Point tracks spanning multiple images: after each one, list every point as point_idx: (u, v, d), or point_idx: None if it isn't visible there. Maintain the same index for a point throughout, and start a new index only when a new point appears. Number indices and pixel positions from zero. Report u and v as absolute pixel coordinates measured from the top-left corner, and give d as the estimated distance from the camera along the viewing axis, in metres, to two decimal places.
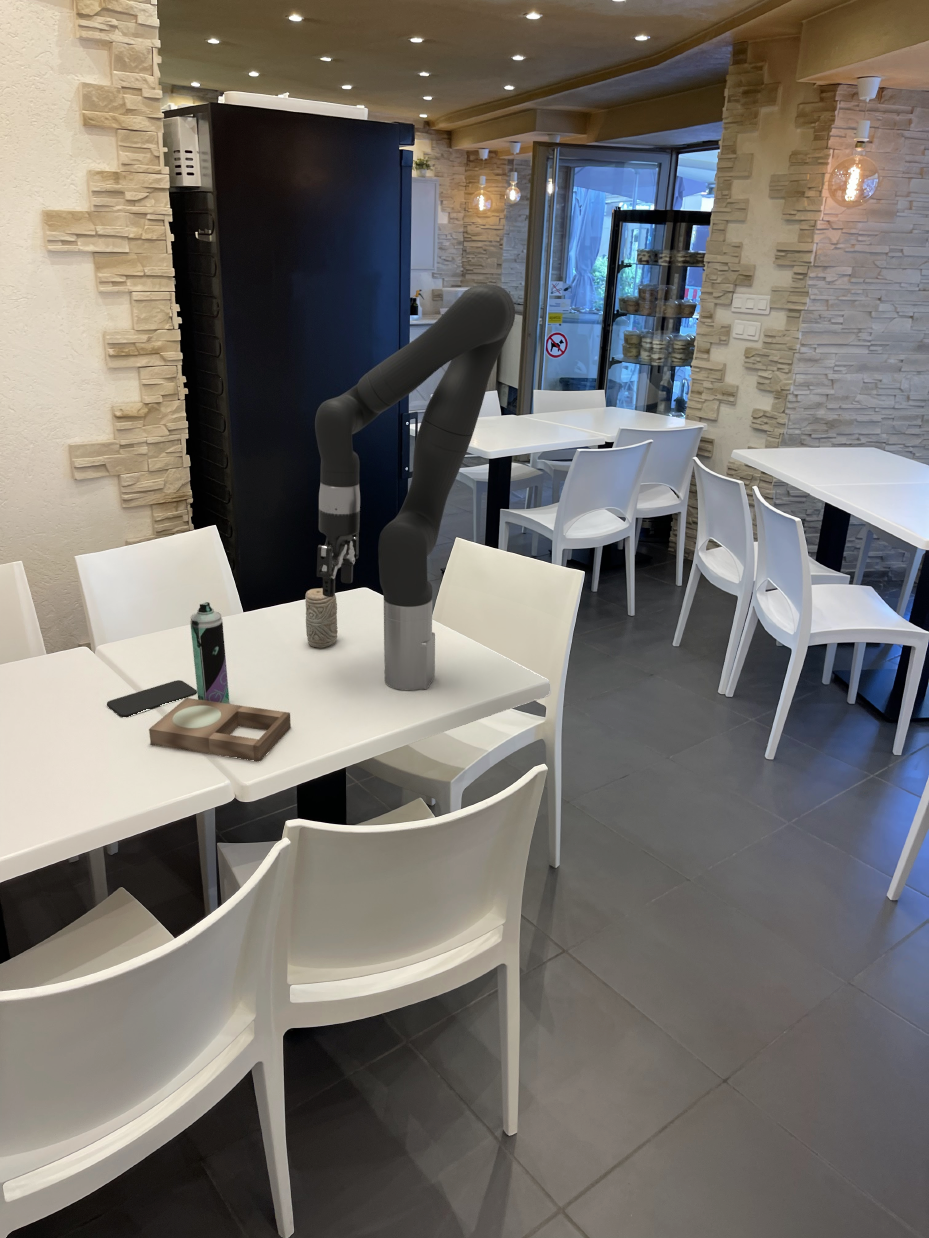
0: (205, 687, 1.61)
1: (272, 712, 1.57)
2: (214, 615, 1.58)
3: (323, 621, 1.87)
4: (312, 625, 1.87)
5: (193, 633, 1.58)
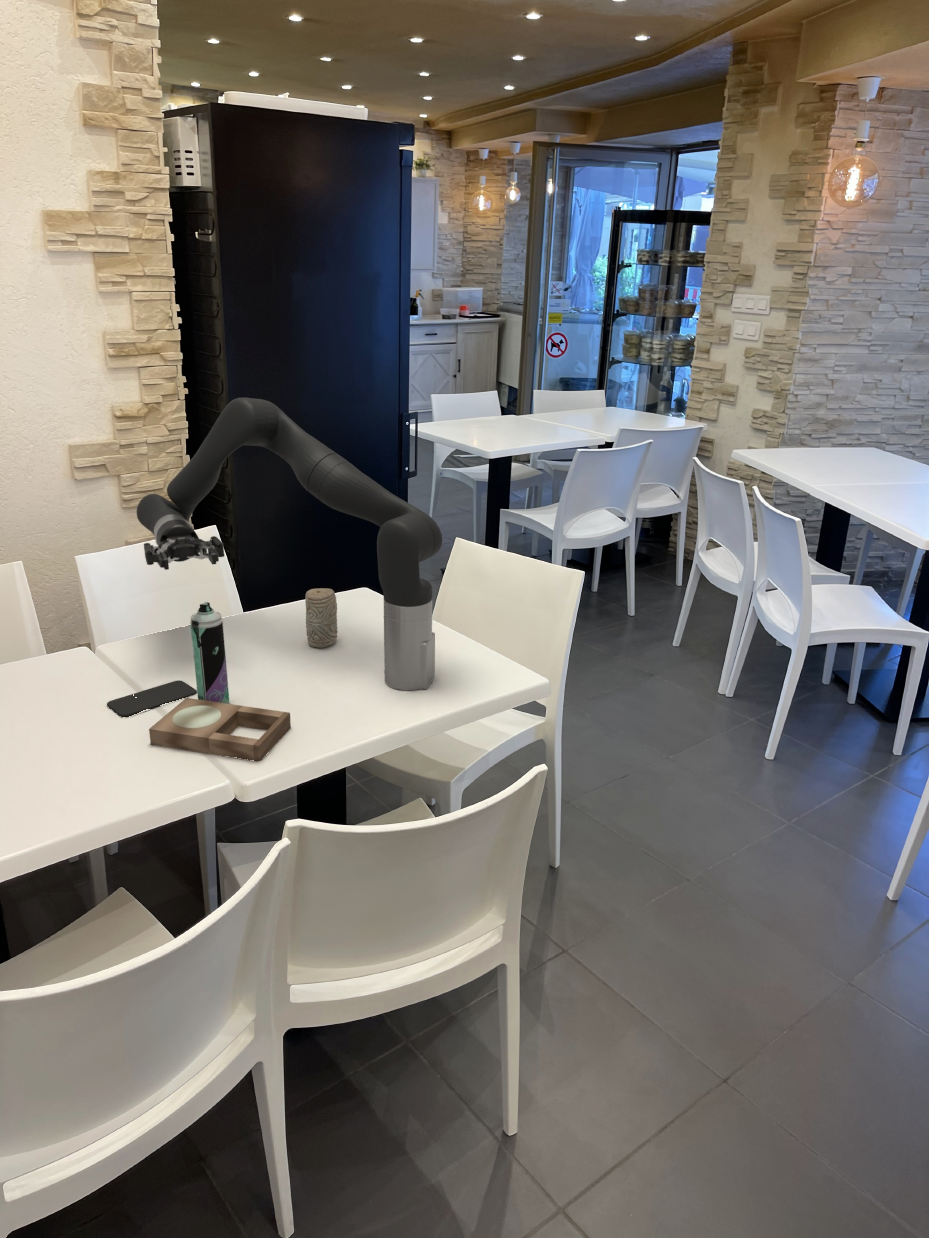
0: (205, 687, 1.61)
1: (272, 712, 1.57)
2: (214, 615, 1.58)
3: (323, 621, 1.87)
4: (312, 625, 1.87)
5: (193, 633, 1.58)
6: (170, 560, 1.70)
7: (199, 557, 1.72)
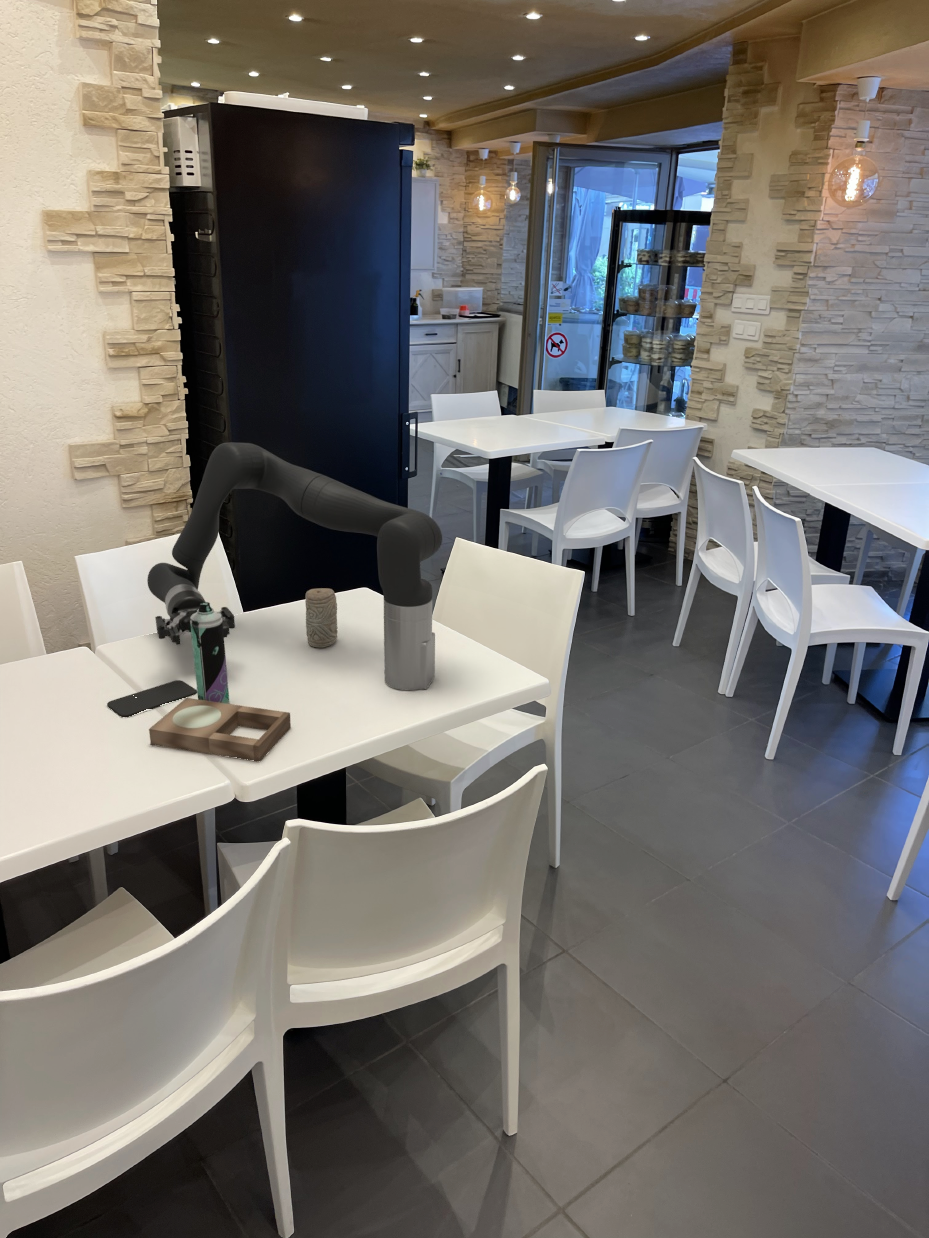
0: (205, 687, 1.61)
1: (272, 712, 1.57)
2: (214, 615, 1.58)
3: (323, 621, 1.87)
4: (312, 625, 1.87)
5: (193, 633, 1.58)
6: (181, 633, 1.71)
7: None
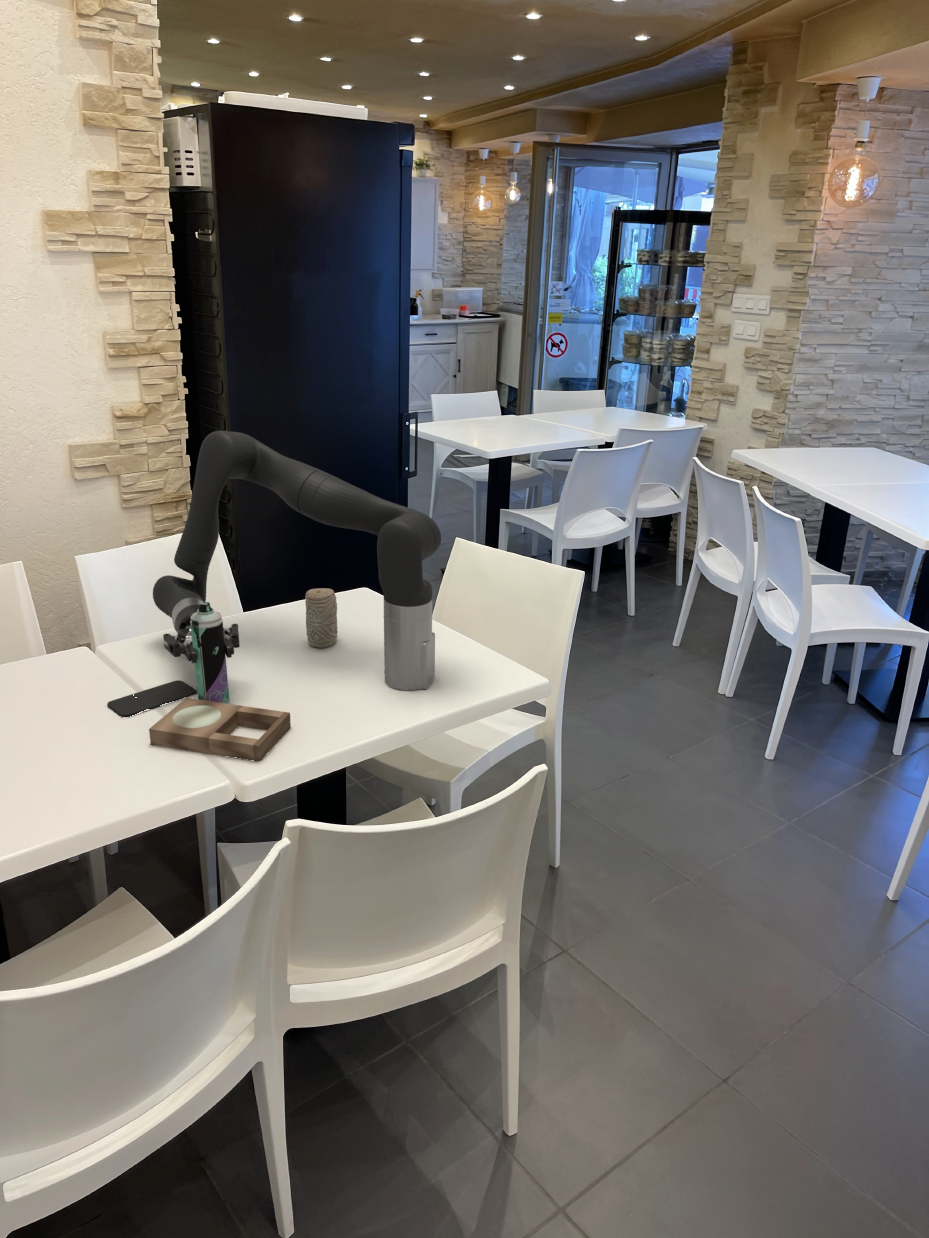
0: (206, 687, 1.61)
1: (272, 712, 1.57)
2: (214, 615, 1.58)
3: (323, 621, 1.87)
4: (312, 625, 1.87)
5: (193, 633, 1.58)
6: None
7: None
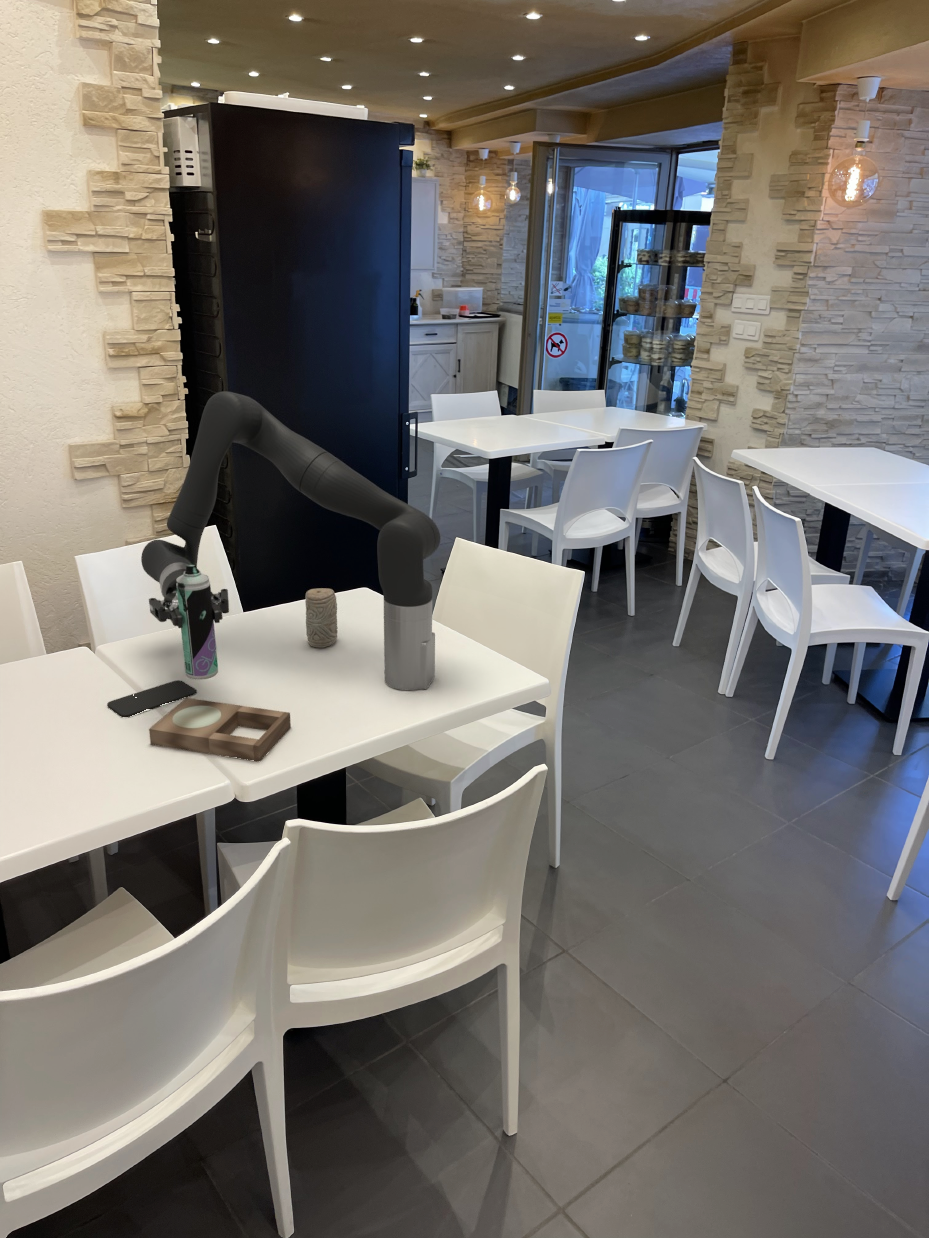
0: (192, 653, 1.53)
1: (272, 712, 1.57)
2: (201, 578, 1.50)
3: (323, 621, 1.87)
4: (312, 625, 1.87)
5: (179, 596, 1.50)
6: None
7: None
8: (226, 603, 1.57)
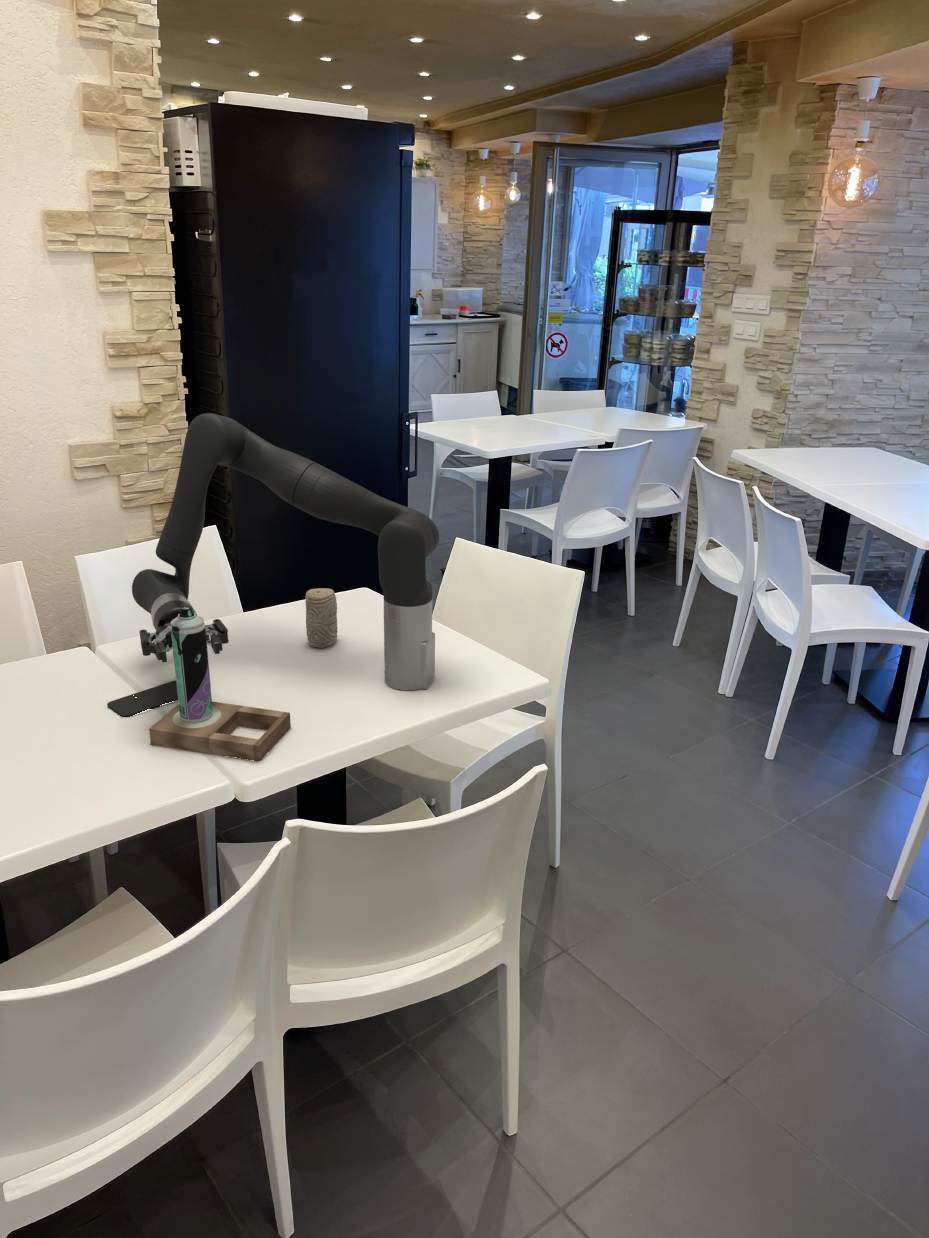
0: (187, 697, 1.50)
1: (272, 712, 1.57)
2: (196, 621, 1.47)
3: (323, 621, 1.87)
4: (312, 625, 1.87)
5: (173, 639, 1.47)
6: (169, 649, 1.53)
7: None
8: (226, 633, 1.55)
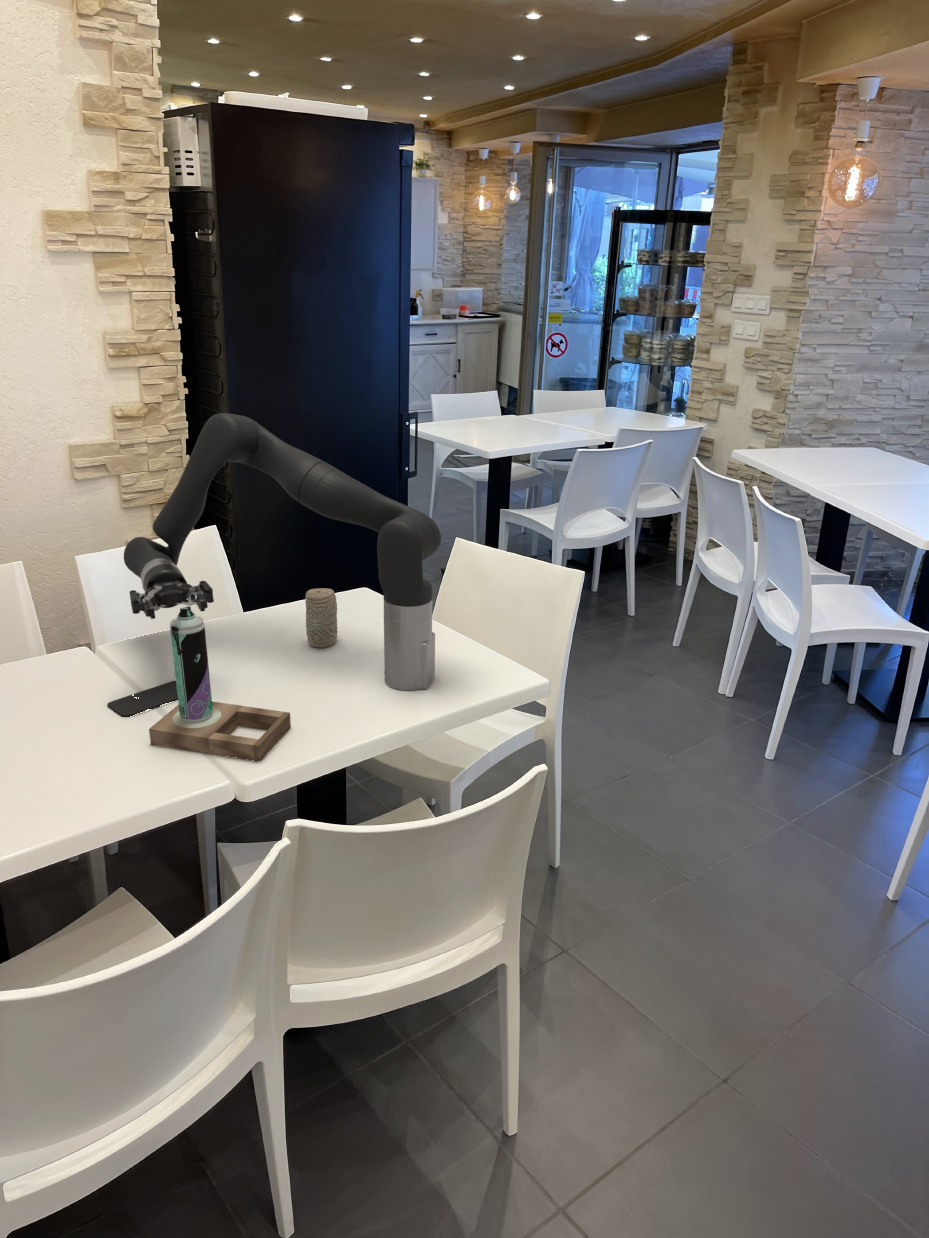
0: (187, 697, 1.50)
1: (272, 712, 1.57)
2: (195, 621, 1.47)
3: (323, 621, 1.87)
4: (312, 625, 1.87)
5: (173, 639, 1.47)
6: (157, 608, 1.63)
7: (187, 604, 1.65)
8: (211, 593, 1.65)
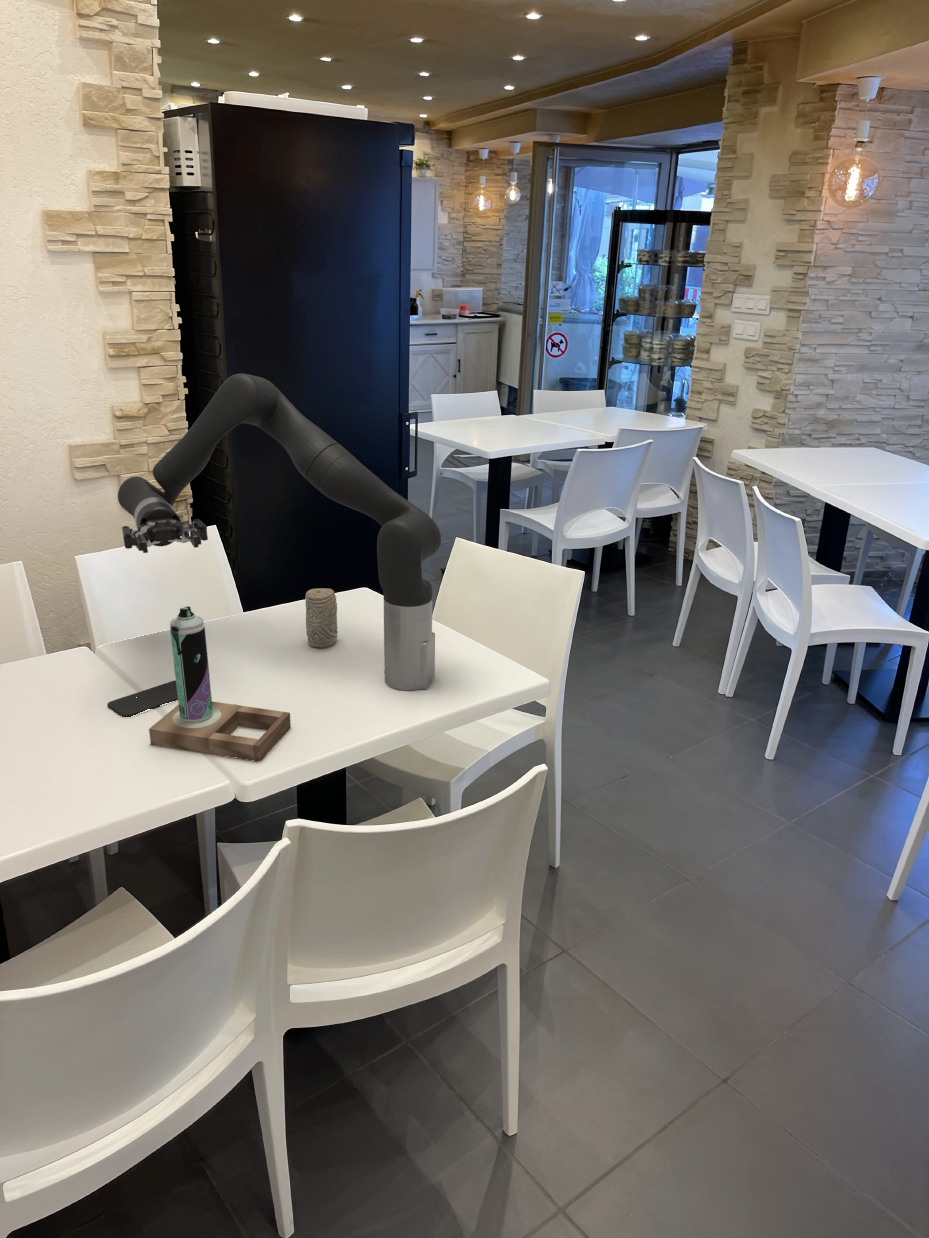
0: (187, 697, 1.50)
1: (272, 712, 1.57)
2: (195, 621, 1.47)
3: (323, 621, 1.87)
4: (312, 625, 1.87)
5: (173, 640, 1.47)
6: (150, 544, 1.60)
7: (181, 541, 1.62)
8: (206, 530, 1.62)
